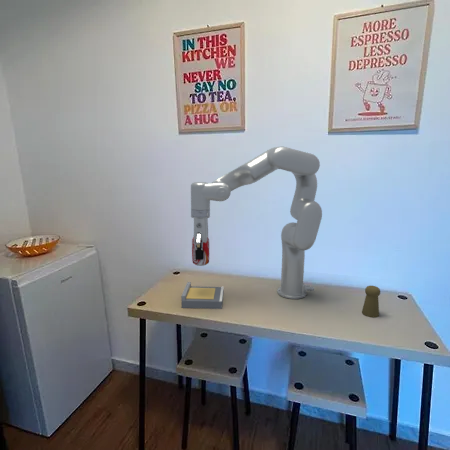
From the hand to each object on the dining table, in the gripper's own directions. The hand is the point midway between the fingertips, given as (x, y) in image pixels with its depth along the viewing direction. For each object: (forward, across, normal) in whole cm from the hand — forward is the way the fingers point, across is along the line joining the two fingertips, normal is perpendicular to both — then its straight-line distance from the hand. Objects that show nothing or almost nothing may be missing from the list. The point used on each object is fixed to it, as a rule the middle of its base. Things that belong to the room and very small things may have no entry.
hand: (200, 256), depth 127 cm
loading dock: (+19, 0, -1) cm, 19 cm away
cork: (+19, -9, -66) cm, 69 cm away
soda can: (+3, 0, 0) cm, 3 cm away
